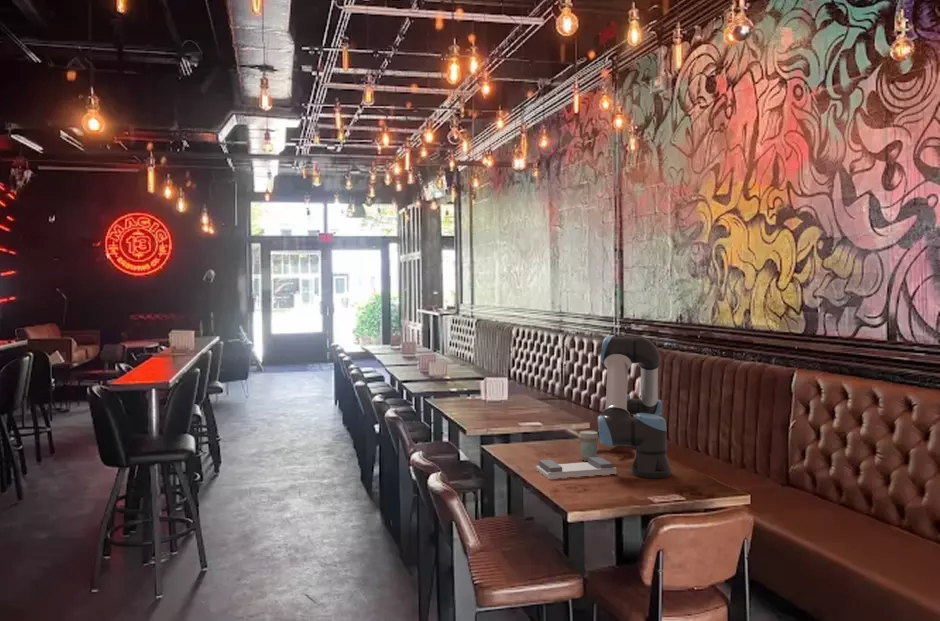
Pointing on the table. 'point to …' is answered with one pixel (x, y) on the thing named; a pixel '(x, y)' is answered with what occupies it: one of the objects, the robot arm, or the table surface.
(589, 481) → the table surface
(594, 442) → the coffee cup
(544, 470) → the rail plate
